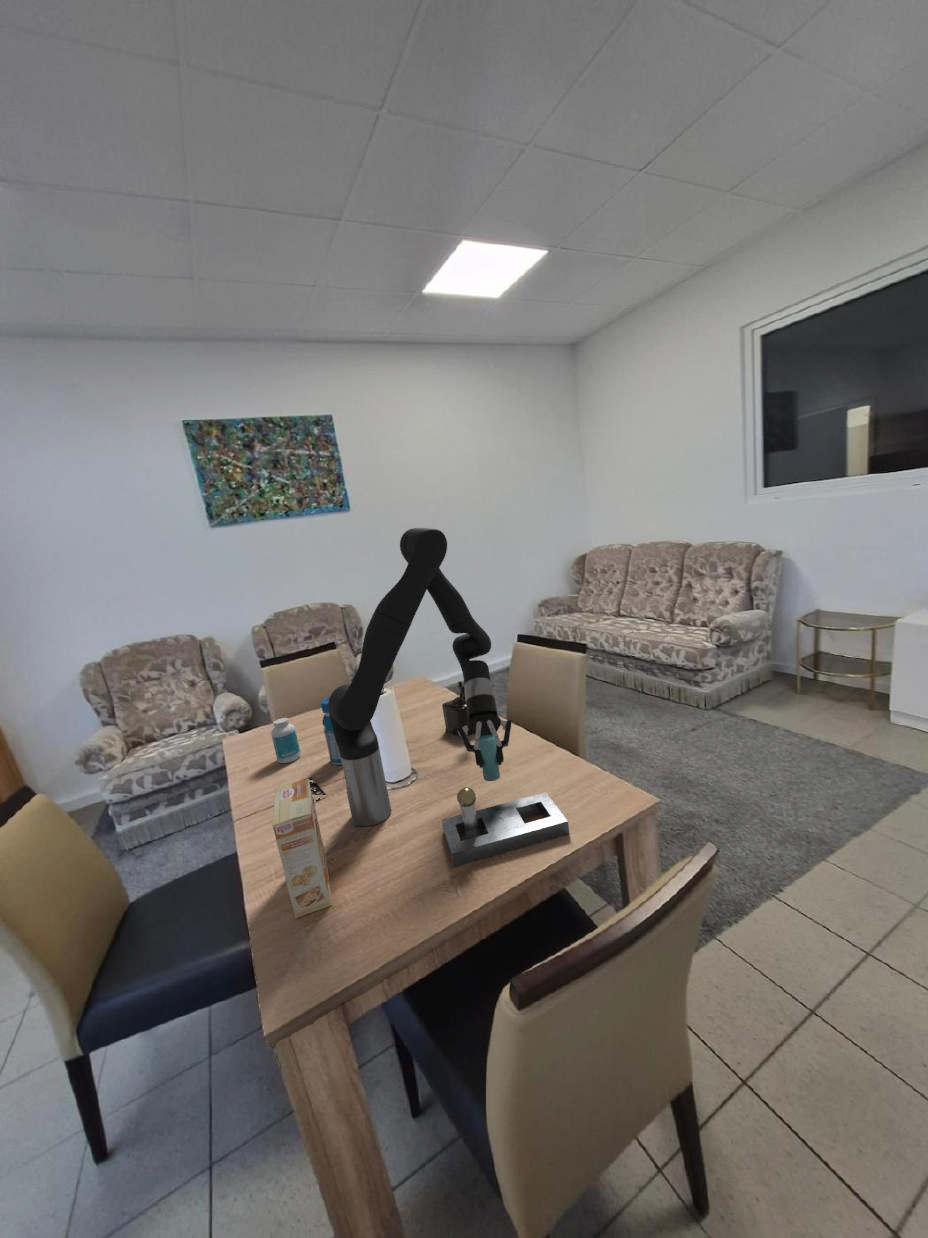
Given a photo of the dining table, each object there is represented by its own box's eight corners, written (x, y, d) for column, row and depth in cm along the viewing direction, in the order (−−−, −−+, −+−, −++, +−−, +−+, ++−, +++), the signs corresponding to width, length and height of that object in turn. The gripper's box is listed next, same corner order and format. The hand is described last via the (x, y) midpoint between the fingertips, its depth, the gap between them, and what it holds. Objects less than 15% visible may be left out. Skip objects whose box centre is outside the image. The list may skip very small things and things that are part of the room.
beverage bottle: (337, 768, 145) (324, 707, 141) (325, 761, 151) (313, 702, 148) (362, 757, 150) (350, 697, 147) (349, 750, 157) (337, 693, 153)
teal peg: (486, 782, 113) (480, 743, 111) (481, 775, 117) (476, 737, 115) (502, 778, 114) (497, 739, 112) (497, 771, 118) (492, 733, 116)
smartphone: (311, 777, 142) (327, 796, 129) (311, 779, 142) (328, 798, 129) (285, 787, 138) (300, 807, 125) (286, 789, 138) (301, 810, 125)
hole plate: (454, 866, 95) (444, 811, 93) (443, 831, 107) (435, 781, 105) (569, 834, 100) (563, 780, 98) (547, 803, 112) (541, 754, 109)
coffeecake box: (333, 906, 90) (311, 813, 86) (293, 920, 88) (270, 826, 84) (328, 858, 104) (309, 777, 100) (294, 870, 102) (273, 787, 98)
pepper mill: (443, 730, 161) (435, 680, 158) (468, 719, 168) (461, 670, 164) (472, 742, 149) (464, 688, 146) (498, 729, 156) (491, 677, 152)
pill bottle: (306, 755, 158) (297, 717, 156) (287, 765, 152) (278, 726, 150) (291, 752, 162) (283, 714, 160) (273, 762, 156) (263, 724, 154)
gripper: (451, 697, 119) (459, 765, 109) (507, 689, 119) (521, 756, 110) (453, 709, 125) (461, 774, 116) (507, 701, 126) (519, 766, 116)
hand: (490, 765), depth 113 cm, fingers closed on teal peg, 4 cm apart
